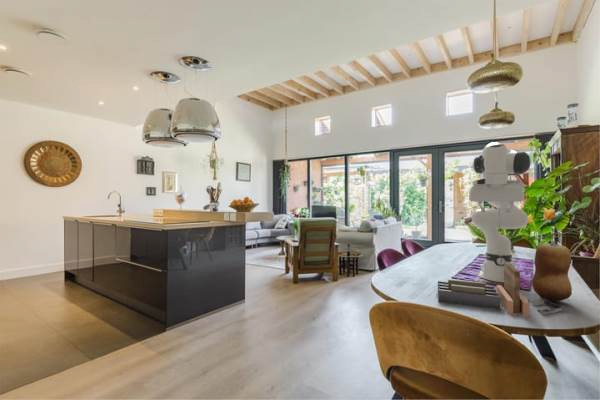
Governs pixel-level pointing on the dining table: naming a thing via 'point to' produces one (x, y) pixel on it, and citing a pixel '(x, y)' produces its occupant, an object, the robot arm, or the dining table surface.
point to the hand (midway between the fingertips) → (495, 211)
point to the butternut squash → (552, 272)
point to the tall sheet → (512, 285)
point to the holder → (508, 302)
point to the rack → (469, 297)
